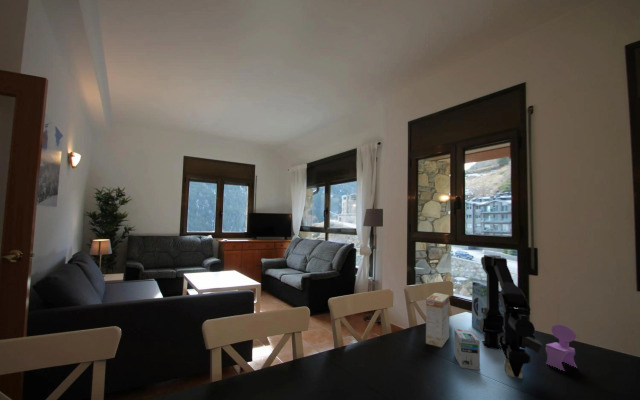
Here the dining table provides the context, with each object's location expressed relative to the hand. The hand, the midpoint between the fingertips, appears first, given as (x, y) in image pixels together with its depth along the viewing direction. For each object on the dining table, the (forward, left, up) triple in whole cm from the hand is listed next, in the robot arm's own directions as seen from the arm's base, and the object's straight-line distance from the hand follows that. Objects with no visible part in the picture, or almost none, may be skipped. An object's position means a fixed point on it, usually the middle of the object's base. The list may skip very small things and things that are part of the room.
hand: (513, 370), depth 106 cm
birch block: (0, 0, -1) cm, 1 cm away
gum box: (-40, -2, -1) cm, 40 cm away
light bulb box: (-2, -15, -1) cm, 15 cm away
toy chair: (-15, +19, -1) cm, 24 cm away
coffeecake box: (-20, -25, -1) cm, 32 cm away
